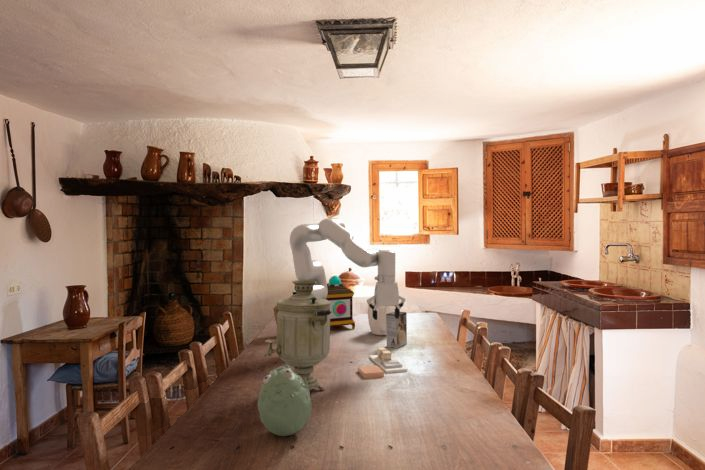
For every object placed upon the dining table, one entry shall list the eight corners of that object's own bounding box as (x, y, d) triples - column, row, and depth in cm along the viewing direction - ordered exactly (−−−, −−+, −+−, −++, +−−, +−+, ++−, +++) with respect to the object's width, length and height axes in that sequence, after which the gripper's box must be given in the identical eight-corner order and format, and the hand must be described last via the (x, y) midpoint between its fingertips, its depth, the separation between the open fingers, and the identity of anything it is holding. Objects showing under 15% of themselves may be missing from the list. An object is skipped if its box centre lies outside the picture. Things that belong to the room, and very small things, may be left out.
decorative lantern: (312, 326, 303) (312, 274, 302) (343, 322, 311) (343, 272, 310) (325, 332, 285) (325, 278, 284) (358, 329, 293) (358, 276, 292)
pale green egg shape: (316, 422, 162) (316, 358, 161) (305, 449, 143) (305, 376, 142) (266, 420, 163) (266, 357, 162) (249, 447, 144) (249, 375, 143)
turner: (373, 357, 232) (373, 348, 232) (388, 355, 234) (388, 347, 234) (386, 368, 215) (386, 358, 214) (402, 367, 216) (402, 357, 216)
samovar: (253, 382, 200) (252, 278, 199) (318, 374, 209) (317, 275, 208) (268, 409, 172) (267, 288, 171) (343, 399, 182) (343, 284, 180)
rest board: (386, 373, 211) (386, 370, 211) (369, 357, 235) (369, 355, 235) (407, 371, 214) (407, 368, 214) (388, 356, 237) (388, 354, 237)
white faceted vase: (372, 340, 267) (372, 303, 267) (365, 329, 294) (364, 295, 293) (402, 339, 269) (401, 303, 268) (392, 328, 296) (392, 295, 295)
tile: (357, 372, 214) (364, 379, 205) (357, 366, 214) (364, 373, 205) (376, 370, 217) (384, 377, 207) (376, 365, 216) (384, 371, 207)
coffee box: (396, 342, 263) (396, 310, 262) (407, 344, 259) (407, 312, 258) (386, 346, 255) (386, 313, 255) (397, 348, 251) (397, 315, 251)
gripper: (369, 280, 218) (369, 321, 219) (408, 279, 222) (408, 319, 223) (364, 278, 225) (364, 317, 226) (402, 277, 230) (401, 316, 230)
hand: (386, 318), depth 225 cm, fingers open, 9 cm apart
